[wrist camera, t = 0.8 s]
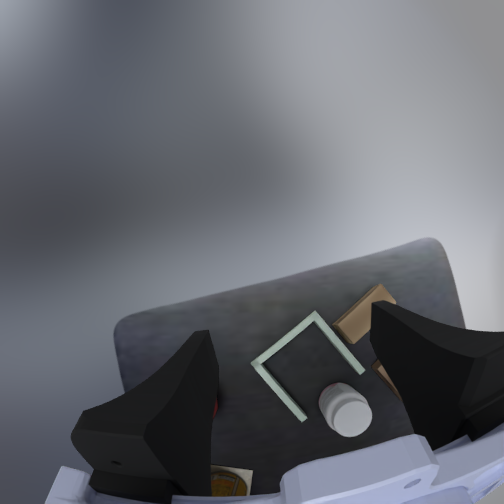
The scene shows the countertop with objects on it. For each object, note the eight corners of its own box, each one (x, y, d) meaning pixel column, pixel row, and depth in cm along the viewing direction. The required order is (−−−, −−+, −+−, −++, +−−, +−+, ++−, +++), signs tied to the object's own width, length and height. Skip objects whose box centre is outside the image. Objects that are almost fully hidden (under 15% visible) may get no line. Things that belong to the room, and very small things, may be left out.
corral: (360, 368, 33) (365, 370, 31) (300, 417, 32) (301, 422, 30) (313, 311, 35) (315, 310, 33) (251, 361, 34) (250, 363, 32)
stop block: (386, 304, 34) (396, 302, 31) (346, 342, 34) (354, 344, 30) (371, 287, 35) (381, 283, 32) (331, 324, 34) (337, 324, 31)
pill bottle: (316, 417, 31) (326, 441, 23) (319, 382, 33) (331, 398, 24) (353, 416, 31) (372, 438, 23) (356, 381, 32) (378, 395, 24)
